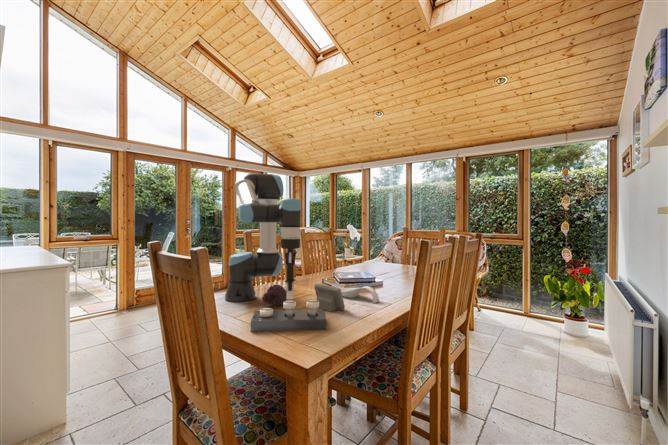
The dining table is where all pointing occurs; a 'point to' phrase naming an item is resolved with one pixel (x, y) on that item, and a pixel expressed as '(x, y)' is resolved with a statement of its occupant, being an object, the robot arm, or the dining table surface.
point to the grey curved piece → (355, 291)
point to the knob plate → (289, 321)
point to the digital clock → (329, 297)
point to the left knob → (266, 312)
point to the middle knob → (289, 308)
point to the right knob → (312, 307)
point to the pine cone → (275, 295)
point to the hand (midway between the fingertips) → (290, 298)
